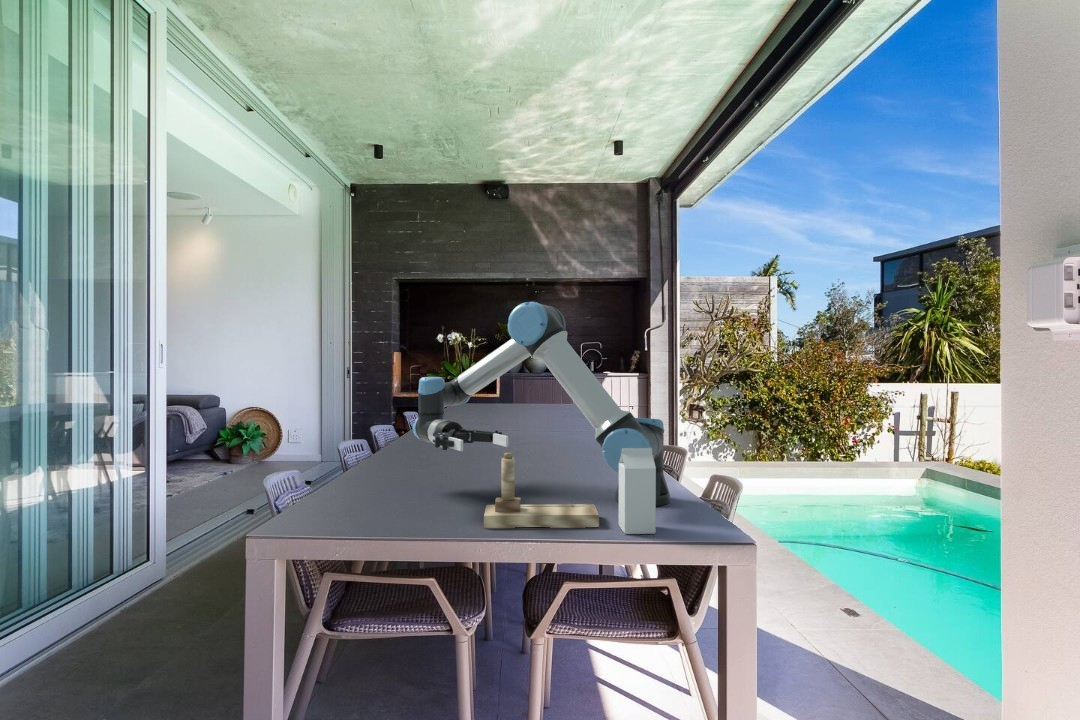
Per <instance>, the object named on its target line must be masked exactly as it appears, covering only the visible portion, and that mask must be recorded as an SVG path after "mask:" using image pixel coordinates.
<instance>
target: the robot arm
mask: <svg viewBox="0 0 1080 720" xmlns="http://www.w3.org/2000/svg"><path fill="white" fill-rule="evenodd" d="M566 326H567V325H566V319H565V317H564V315H563V314H562V312H561V311H560V310H559V309H558V308H556V307H554V306H552V305H547V304H542V303H539V302H537V301H526V302H522V303H519V304H518V305H517V306H515V307H514V308H513V310H512V311H511V312H510V314H509V316H508V321H507V331H508V334H509V336H510V339H509V340H507V341H506V342H505V343H503V344H502V345H500V346H499V347H497V348H496V349H494V350H493V351H492V352H490V353H488V354H487V355H485V356H484V357H483V358H482V359H480V360H479V361H478V362H476V363H475V364H473V365H472V366H470V367H469V368H468V369H466V370H464V371H463V372H461V373H460V374H459V375H458V376H456V377H454V378H452V380H450V381H449V382H445V378H443V377H440V376H439V377H438V376H424V377H421V378H419V380H418V389H417V392H418V394H417V395H418V402H417V403H418V404H417V405H418V408H417V409H418V415H417V416H418V417H417V418H416V419H415V420H414V421H413V424H412V433H413V435H414V437H416V438H417V439H418V440H420V441H422V442H425V443H430V444H433V445H434V447H435V448H437V449H438V448H442V451H447V450H448V449H450V450H455V451H458V452H464V444H474V443H476V442H477V443H478V442H479V443H492V444H494V445H497V446H501V447H505V448H507V447H509V444H510V442H509V439H510V438H509V436H508V435H505V434H503V432H501V431H499V430H495V431H488V430H478V429H466V428H463V427H462V425H461V424H460V423H458V422H456V421H452V420H449V419H444V418H445V417H444V416H445V408H447V407H455V406H458V407H459V406H462V405H463V404H466V403H467V402H469V400H470V399H471V397H473V395H475V394H476V393H478V392H479V391H481V390H482V389H484V388H485V387H487V386H489V384H491V383H492V382H494V381H495V380H497V379H498V378H500V377H501V376H503V375H505V374H506V373H508V372H509V371H510V370H512V369H513V368H515V367H517V365H519V364H521V363H522V362H524V361H525V360H527V359H528V358H530V356H531V357H532V358H533V359H534V360H539V361H542V362H543V364H544V365H545V366H546V367H547V369H548V370H549V371H550V373H551V374H552V375H553V377H554V378H555V379H556V381H557V382H558V383H559V385H561V387H562V389H564V391H565V393H566V394H567V395H568V396H569V398H570V399H571V400H572V402H573V403H574V404H575V405H576V407H577V408H578V409H579V411H580V412H581V413H582V415H583V416H584V417H585V418H586V420H587V421H588V422H589V423H590V425H591V426H592V427H593V429H594V430H595V434H594V439H595V441H596V442H597V443H598V445H599V446H600V448H601V449H602V457H603V459H604V461H605V463H606V464H607V466H608V467H610V469H612V470H613V471H615V472H617V473H619V460H620V457H621V453H622V448H652V455H653V459H654V463H655V467H656V507H658V506H659V507H660V506H665V505H667V504H669V503H671V497H670V496H671V494H670V490H669V488H668V484H667V481H666V477H665V473H664V459H665V458H664V456H665V455H664V454H665V453H664V447H665V445H664V441H665V440H664V437H665V436H664V434H665V429H664V422H663V420H662V419H660V418H649V417H647V418H646V417H635V416H634V415H633V414H632V412H631V411H628V410H623V409H621V408H620V406H619V405H618V404H617V403H616V402H615V400H614V399H613V397H612V396H611V395H610V394H609V392H608V391H607V390H606V389H605V387H604V385H602V384H601V382H600V381H599V380H598V378H597V377H596V376H595V374H594V373H593V372H592V371H591V370H590V368H589V367H588V366H587V365H586V363H585V362H584V361H583V360H582V358H581V357H580V355H579V354H578V353H577V352H576V351H575V349H574V348H573V346H572V345H571V344H570V342H568V340H567V339H568V331H567V330H566ZM614 500H615V502H617V503H619V480H618V482H617V484H616V487H615V491H614Z"/></svg>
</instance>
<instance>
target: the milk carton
mask: <svg viewBox="0 0 1080 720" xmlns="http://www.w3.org/2000/svg"><path fill="white" fill-rule="evenodd" d="M618 481H619V502H618V526H619V528H620V529H621V530H622V532H623V533H624V534H625V535H640V534H641V535H648V534H649V535H653V534H656V533H657V531H656V528H657V527H656V518H657V517H656V515H657V514H656V511H657V510H656V509H657V508H656V507H657V506H656V467H655V463H654V459H653V455H652V448H622V453H621V457H620V460H619V472H618Z"/></svg>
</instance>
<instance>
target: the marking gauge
mask: <svg viewBox="0 0 1080 720" xmlns="http://www.w3.org/2000/svg"><path fill="white" fill-rule="evenodd" d="M515 459H516V458H515V457H513V452H504V453H503V457H501V459H500V460H501V466H500V467H501V469H500V470H501V471H500V472H501V477H500V478H501V479H500V482H501V486H500V488H501V489H500V491H501V497H496V498H495V501H494V502H495V503H494V505H495V512H520V505H521V497H516V496H515V490H516V489H515V488H516V487H515V486H516V485H515V484H516V481H515V479H516V477H515V476H516V475H515V474H516V472H515V466H516V465H515V464H516V463H515V462H516V460H515Z"/></svg>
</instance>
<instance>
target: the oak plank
mask: <svg viewBox="0 0 1080 720" xmlns="http://www.w3.org/2000/svg"><path fill="white" fill-rule="evenodd" d="M515 527H550V528H549V529H577V528H578V529H581V528H583V529H586V528H585V527H599V528H600V514H599V512H598V510H597V508H596V506H595V504H593V503H591V504H590V503H587V504H585V503H584V504H583V503H581V504H580V503H579V504H578V503H577V504H571V503H570V504H569V503H568V504H558V503H557V504H551V503H550V504H546V503H545V504H520V512H495V504H486V505H485V509H484V515H483V529H516V528H515Z"/></svg>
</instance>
